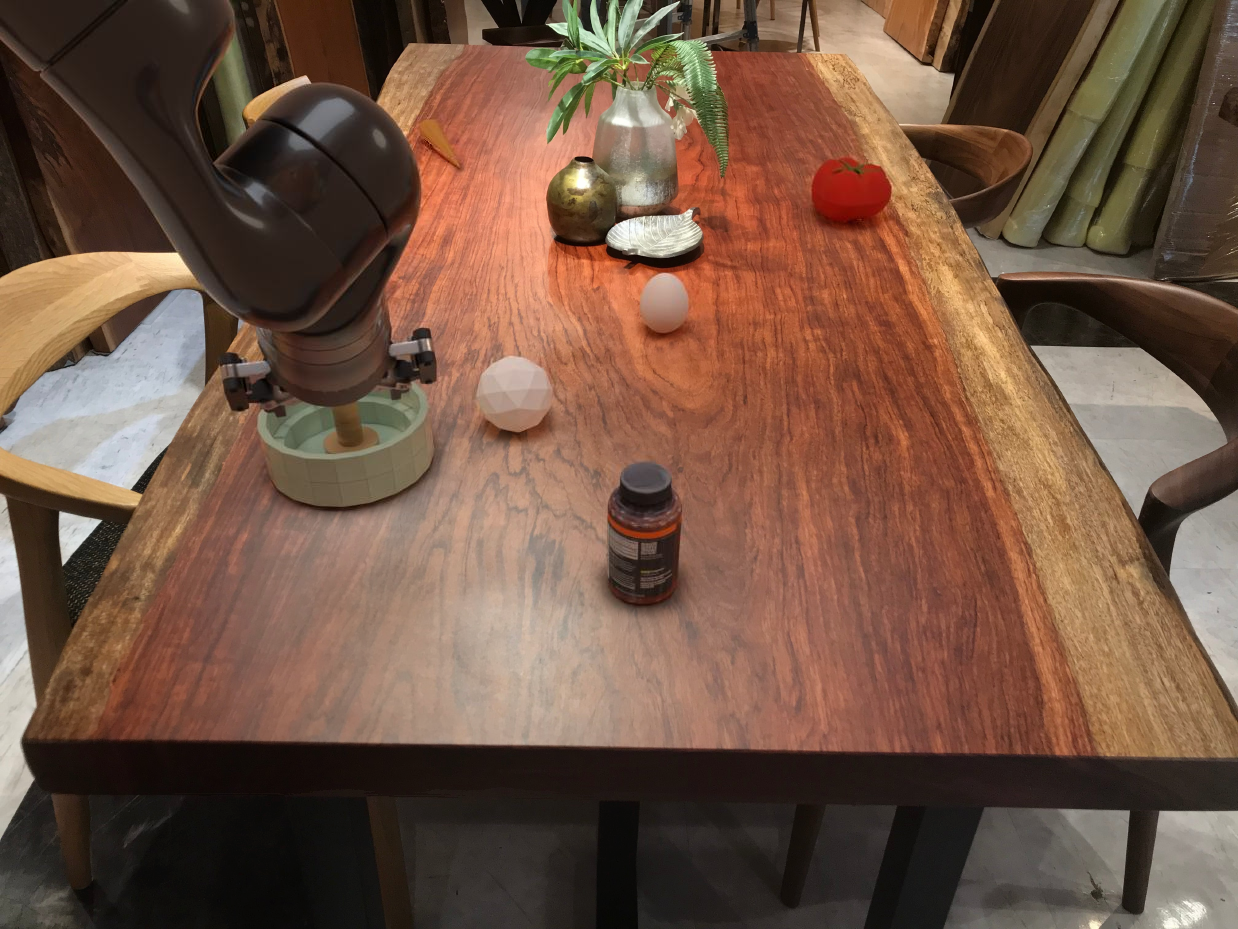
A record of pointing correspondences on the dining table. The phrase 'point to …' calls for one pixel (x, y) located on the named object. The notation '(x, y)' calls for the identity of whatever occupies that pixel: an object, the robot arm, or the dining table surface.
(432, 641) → the dining table surface
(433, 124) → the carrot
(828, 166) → the tomato
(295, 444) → the bowl
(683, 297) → the egg
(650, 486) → the supplement bottle
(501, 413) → the geometric ball
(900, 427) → the dining table surface
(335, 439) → the wooden peg on base
